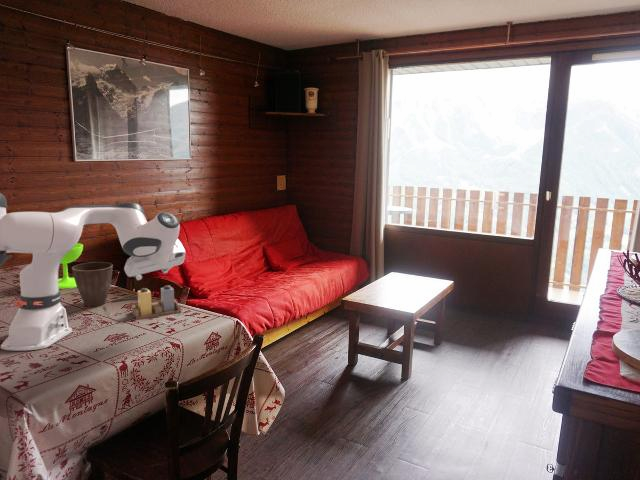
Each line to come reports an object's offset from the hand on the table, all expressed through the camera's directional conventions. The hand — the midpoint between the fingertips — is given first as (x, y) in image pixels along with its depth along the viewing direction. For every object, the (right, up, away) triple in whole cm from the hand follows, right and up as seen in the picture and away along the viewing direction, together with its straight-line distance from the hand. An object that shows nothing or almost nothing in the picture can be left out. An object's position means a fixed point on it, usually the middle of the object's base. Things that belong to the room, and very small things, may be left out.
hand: (151, 275), depth 167 cm
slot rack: (-3, -17, +15) cm, 23 cm away
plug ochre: (-7, -16, +13) cm, 22 cm away
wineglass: (-58, -8, +52) cm, 79 cm away
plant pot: (-33, -14, +26) cm, 44 cm away
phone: (-19, -14, +31) cm, 39 cm away
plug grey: (0, -15, +17) cm, 23 cm away
